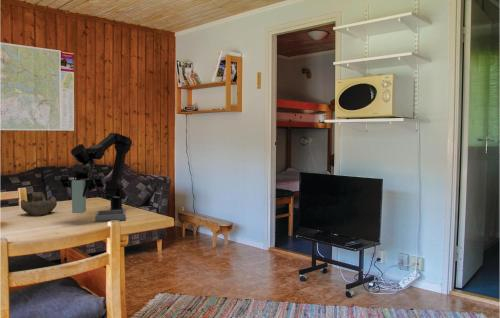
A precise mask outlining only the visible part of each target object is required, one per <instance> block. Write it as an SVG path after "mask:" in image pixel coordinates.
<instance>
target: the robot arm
mask: <svg viewBox="0 0 500 318" xmlns="http://www.w3.org/2000/svg"><path fill="white" fill-rule="evenodd" d="M132 143H133V141H132V139H131V138H130V136H125V135H122V134H121V133H118V132H110V133H108V135H107V136H105V138H103V139H102V140H100V141H99V142H98V143H97V144H94V145H91V146H88V147H87V148H86V147H85V145H84V144H83V143H82V144H80V143H79V144H78V145H77V146H75V147H73V148H72V149H71V150H70V154H71V155H72V156H73V158H74V159H75V161H76V162H77V163H78V164H73V167H72V172H73V173H74V177H71V175H60V177H59V182H60V184H61V186H62V187H63V188H64V189H65V188H66V189H67V188H69V189H70V191H71V192H70V194H71V197H72V181H74V180H85V181H86V186H85V189H84V192H83V197H85V196H87V195H88V194H89V193H90V192H92V191H93V190H95V189H97V188H98V189H99V188H101V189H102V188H104V193H105V197H106V200H108V199H110V208H109V210H124V207H123V200H125V199H126V198H127V193H126V192H125V190H124V185H123V181H122V177H123V172H124V165H125V161H126V156H127V154H128V153H129V151H130V150H131V147H132ZM113 145H114V146H113ZM111 146H113V147H114V150H115V157H114V161H113V162H114V163H113V167H112V173H111V177H110V179H109V180H106V182H105V179H104V177H103V175H93V171H94V168H97V166H98V165H97V163H96V162H95V161H97V160H101V159H103V157H104V156H105V152H106V151H107V150H108V149H109V148H111ZM79 163H80V164H79Z"/></svg>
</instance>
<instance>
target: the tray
mask: <svg viewBox="0 0 500 318" xmlns="http://www.w3.org/2000/svg"><path fill="white" fill-rule="evenodd" d="M94 218H95V219H94V223H108V221H111V220H120V221H119V222H126V209H123V210H110V209H107V210H106V209H105V210H97V211H96V212H95V217H94Z"/></svg>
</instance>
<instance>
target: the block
mask: <svg viewBox="0 0 500 318" xmlns="http://www.w3.org/2000/svg"><path fill="white" fill-rule="evenodd" d="M85 186H86V181H85V180H74V181H72V196H71V209H72V210H71V213H72V214H83V213H86V211H87V197H86V196H87V195H86V196H85V197H83V192H84V189H85Z"/></svg>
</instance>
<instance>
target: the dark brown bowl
mask: <svg viewBox="0 0 500 318" xmlns="http://www.w3.org/2000/svg"><path fill="white" fill-rule="evenodd" d="M57 203H58V202H57V199H56V197H55V196H51V197H50V198H49V199H46V196H45V194H44V193H43V191H38V192H37V191H35V192H32V194H31V201H26V200H25V199H21V201H20V209H21V210H22V211H24V212H25V213H27V214H30V215H32V216H35V217H42V216H44V215H47V214H48V213H51V212H52V211H54V209H55V208H56V207H57V205H58V204H57ZM41 215H42V216H41Z"/></svg>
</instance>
